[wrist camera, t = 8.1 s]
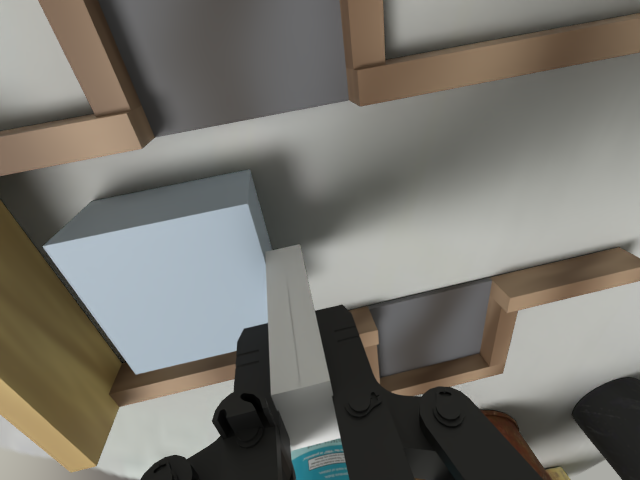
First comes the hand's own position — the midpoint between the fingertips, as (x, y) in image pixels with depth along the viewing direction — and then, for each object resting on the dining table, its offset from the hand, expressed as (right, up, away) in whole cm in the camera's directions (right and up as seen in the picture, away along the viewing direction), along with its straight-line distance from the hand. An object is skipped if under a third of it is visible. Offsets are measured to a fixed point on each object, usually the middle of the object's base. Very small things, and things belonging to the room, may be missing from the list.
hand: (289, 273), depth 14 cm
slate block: (-5, +1, +2) cm, 5 cm away
